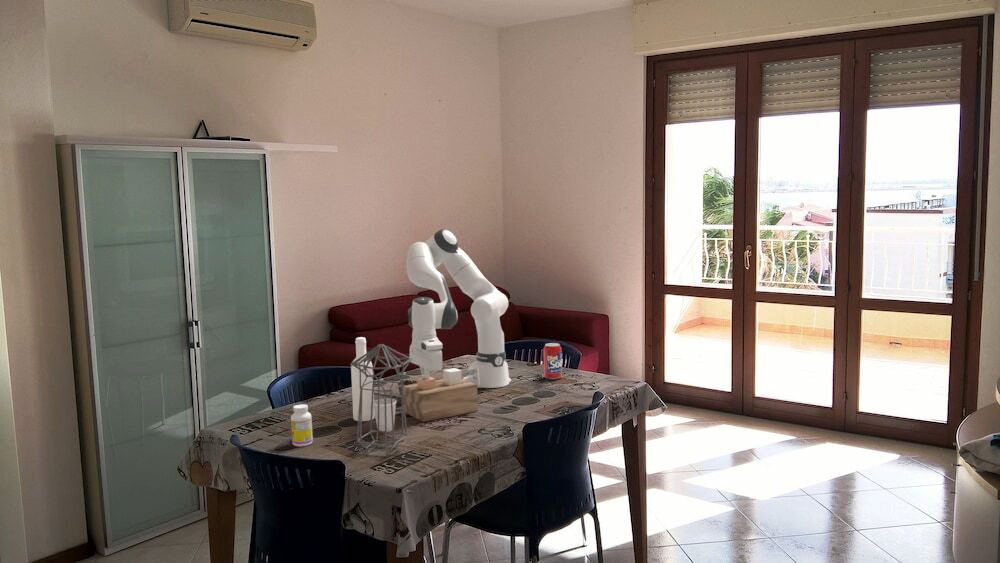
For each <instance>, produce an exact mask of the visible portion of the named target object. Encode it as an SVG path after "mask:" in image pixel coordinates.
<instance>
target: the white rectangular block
mask: <svg viewBox="0 0 1000 563" xmlns="http://www.w3.org/2000/svg"><path fill="white" fill-rule="evenodd" d="M442 374H443V379H444V384H447V385H449V386H451V385H457V384H462V379H463V376H462V370H461V369H459V368H456V367H453V368H447V369H443V373H442Z"/></svg>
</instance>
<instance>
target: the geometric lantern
mask: <svg viewBox="0 0 1000 563" xmlns="http://www.w3.org/2000/svg"><path fill="white" fill-rule="evenodd" d="M381 349H382V350H381ZM380 350H381V351H382V353H383V355H384V356H380V355H379V354H380V352H381V351H380ZM391 351H392V352H391ZM393 352H394V353H395V354H397V355H399V356H402V357H399V358H398V357H397V356H396V355H394V354H393ZM365 356H366V357H365ZM364 357H365V358H364ZM363 358H364V359H363ZM373 358H375V359H374V363H373V367H368V365H369V363H370V361H371V362H372V360H373ZM361 359H363V360H361ZM360 360H361V361H360ZM367 360H368V361H367ZM384 360H385V361H386V363H385V362H384ZM402 360H403V361H402ZM411 360H412V359H411V358H410V356H407V355H405V354H403V353H400V352H399V351H397V350H395V349H393V348H391V347H390V346H387V345H385V344H383V343H381V344H380V343H379V344H377V345H376V346H375V347H373V348H372V349H371V350H369V351H367V352H366V354H365V355H363V356H362V357H360V358H359V359H357V360H356V361H354V362H353V361H351V363H350V364H349V365H350V367H351V366H354V367H356V368H357V369H359V371H360V400H359V413H358V421H357V429H356V442H357V443H358V444H359V445H360V446H361V447H363V448H364V449H365V456H367V457H382V458H383V457H384V458H388V457H391V456H392V455H393V454H394V453H395V452H397V450H399V446H398V445H399V444H400V443H401V442H402V441H403V440H405V439H406V438H408V430H407V429H408V428H407V415H406V414H407V413H405V402H404V390H403V381H404V372H405V371H406V369H407V367H408V366H409V364H410V363H411V362H410V361H411ZM358 361H360V362H358ZM363 361H364V365H360V364H361V363H362V362H363ZM366 361H367V364H366V365H365V362H366ZM377 361H379V362H380V363H382V365H384V366H383V367H382V366H381V367H376V365H377ZM390 362H391V363H392V365H393V366H392V365H391V364H390ZM398 363H399V364H398ZM358 366H359V367H358ZM360 366H361V367H363V369H360ZM367 368H370V369H372V371H373V375H371V374H370V373H369V371H368V370H367ZM400 368H402V370H400ZM364 370H365V372H364ZM366 370H367V372H368V373H369V375H368V374H366ZM374 370H382V371H380V372H377V373H376V374H375V371H374ZM389 370H395V371H396V375H395V377H394V380H393V381H390V380H389V381H388V380H381V378H382V377H383V375H384V373H385V372H387V371H389ZM361 372H362V373H364V374H365V375H366V379H367V377H371V378H372V379H373V383H372V389H364V388H362V387H363V386H365V385H367V384H369V383H371V382H372V381H370V382H368V383H366V384H364V383H365V381H366V379H365V381H364V383H363V385H362V386H361ZM400 375H401V377H400ZM377 376H379V377H377ZM397 377H398V379H399V381H396V380H397ZM374 378H375V379H376V380H375V379H374ZM381 382H382V383H391V385H390V388H389V389H385V387H384V386H383V384H382V383H381ZM375 383H377V389H375ZM398 383H401V385H400V386H401V396H400V397H401V398H400V399H401V400H400V401H401V402H400V403H401V432H398V431H395V421H394V420H393V404H392V399H393V391H395V390H396V389H399V388H398V387H400V386H398V385H397V386H396V387H395V388H393V385H394V384H398ZM381 389H382V390H381ZM362 390H372V402H371V420H369V421H370V423H369V424H370V425H369V431H368V432H366V433H365V434H364V435H362V432H363V430H362V429H363V427H362V424H363V421H362ZM375 392H377V400H378V429H377V430H372V429H373V428H372V427H373V419H372V414H373V395H374V396H375ZM380 392H383V393H384V395H383V396H384V398H383V399H384V403H385V431H381V430H379V399H380ZM388 392H389V398H390V400H391V416H392V431H387V418H386V398H387V393H388ZM373 433H376V439H375V438H374V436H373ZM379 433H384V440H378V436H379ZM388 434H392V441H389V440H388V436H387V435H388ZM395 434H396V435H399V437H398V438H397V439H395ZM368 435H370V436H371V439H372V442H367V441H362V439H363V438H365V437H367V436H368ZM402 436H403V437H402ZM401 437H402V438H401ZM380 443H381V444H380ZM382 443H385V444H382ZM388 443H389V444H388ZM366 445H368V446H366ZM370 446H372V448H371V447H370ZM369 447H370V448H369ZM380 448H381V449H380ZM382 448H383V449H382ZM392 449H394V450H393V451H392ZM372 450H373V451H380V452H381V451H383V452H386V455H381V454H369V453H370V452H371V451H372ZM388 452H389V454H388Z"/></svg>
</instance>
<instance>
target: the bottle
mask: <svg viewBox="0 0 1000 563" xmlns="http://www.w3.org/2000/svg"><path fill="white" fill-rule="evenodd" d="M354 343H355V353H356V357H355V358H354V359H353V360H352V362H354V361H356V360H357V359H359V358H360V357H362V356H363V355H365V354H366V353H367V340H366V337H363V336H360V337H359V336H358V337H356V338H355V341H354ZM365 357H366V356H365ZM365 357H364V358H365ZM364 358H363V359H364ZM363 359H361V360H363ZM361 360H360V361H361ZM360 361H358V362H360ZM367 361H368V360H367ZM367 361H366V362H365V365H366V364H367ZM360 365H364V361H363V362H362V363H361V364H360ZM373 366H374V364H373V362H372V360H371V361H370V363H369V365H368V367H373ZM358 367H359V366H358ZM360 369H363V367H361V366H360ZM367 370H368V371H369V373H370V374H371V375H373V371H372V369H370V368H367ZM367 370H366V374H368V375H369V373H368V372H367ZM350 371H351V372H350V373H351V392H352V393H351V398H352V418H353V419H352V420H354V421H356V422H358V413H359V400H360V371H359V369H357V368H356V367H354V366H351V365H350ZM364 372H365V370H364ZM365 379H366V375H365V374H364V373H362V372H361V386H362V385H363V383H364V381H365ZM373 379H374V378H373ZM373 379H372V378H371V377H367V379H366V381H365V383H364V384H366V383H368V382H370V381H372V382H371V383H369V384H367V385H365V386H363V387H362V388H364V389H372V383H373V381H374V380H373ZM373 401H375V394H374V395H373ZM371 402H372V390H362V422H369V421H371ZM374 419H376V418H375V412H374V406H373V414H372V420H374Z"/></svg>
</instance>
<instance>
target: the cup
mask: <svg viewBox="0 0 1000 563" xmlns="http://www.w3.org/2000/svg"><path fill="white" fill-rule="evenodd" d="M417 383H418V382H417V380H412V381H411V380H410V379H405V380H403V386H405V385H411V384H417ZM400 385H401V383H397V387H398V386H400ZM397 389H398V392H399V396H400V397H401V386H400V387H398V388H397Z"/></svg>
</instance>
